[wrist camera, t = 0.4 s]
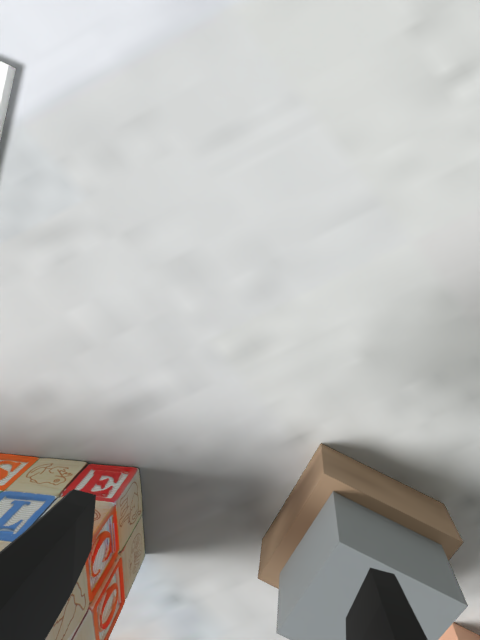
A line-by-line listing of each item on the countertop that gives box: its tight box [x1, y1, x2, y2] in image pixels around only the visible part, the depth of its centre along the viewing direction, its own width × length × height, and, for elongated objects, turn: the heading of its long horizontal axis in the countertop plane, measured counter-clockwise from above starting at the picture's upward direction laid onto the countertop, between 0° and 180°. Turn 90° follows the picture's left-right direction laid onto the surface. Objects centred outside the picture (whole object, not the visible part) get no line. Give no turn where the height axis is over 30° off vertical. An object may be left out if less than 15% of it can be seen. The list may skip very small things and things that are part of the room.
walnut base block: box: [258, 443, 463, 589], centre depth 21 cm, size 7×7×3 cm
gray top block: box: [277, 491, 468, 640], centre depth 18 cm, size 6×6×3 cm
